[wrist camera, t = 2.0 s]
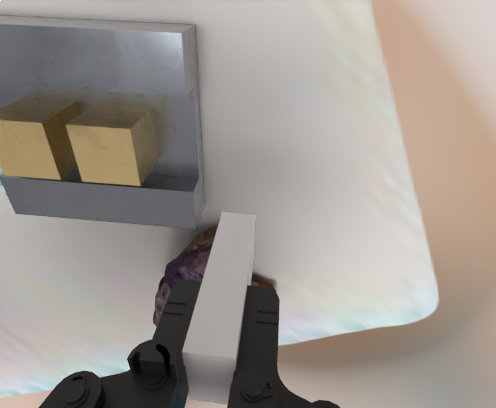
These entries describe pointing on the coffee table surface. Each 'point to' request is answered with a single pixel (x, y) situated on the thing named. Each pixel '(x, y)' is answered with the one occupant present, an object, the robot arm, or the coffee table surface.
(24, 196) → the rail
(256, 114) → the coffee table surface
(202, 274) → the rock
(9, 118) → the brass block
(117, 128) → the brass block
